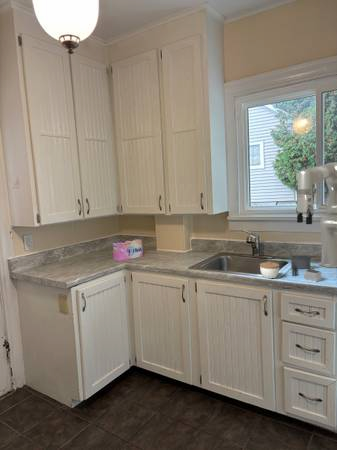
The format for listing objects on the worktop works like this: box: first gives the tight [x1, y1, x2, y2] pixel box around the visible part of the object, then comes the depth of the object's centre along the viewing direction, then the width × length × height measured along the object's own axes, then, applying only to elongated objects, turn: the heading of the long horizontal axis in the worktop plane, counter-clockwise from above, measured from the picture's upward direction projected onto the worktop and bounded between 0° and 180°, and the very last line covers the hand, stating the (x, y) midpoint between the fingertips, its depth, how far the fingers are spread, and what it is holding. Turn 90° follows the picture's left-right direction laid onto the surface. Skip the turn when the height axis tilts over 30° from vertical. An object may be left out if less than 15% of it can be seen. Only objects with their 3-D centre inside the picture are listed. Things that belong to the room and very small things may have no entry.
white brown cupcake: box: [259, 261, 280, 279], centre depth 192 cm, size 11×11×9 cm
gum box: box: [112, 238, 144, 262], centre depth 261 cm, size 24×8×14 cm, turn 128°
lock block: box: [304, 269, 322, 283], centre depth 184 cm, size 7×5×5 cm
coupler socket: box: [290, 254, 313, 277], centre depth 200 cm, size 18×11×9 cm, turn 162°
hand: (304, 223), depth 187 cm, fingers open, 9 cm apart
